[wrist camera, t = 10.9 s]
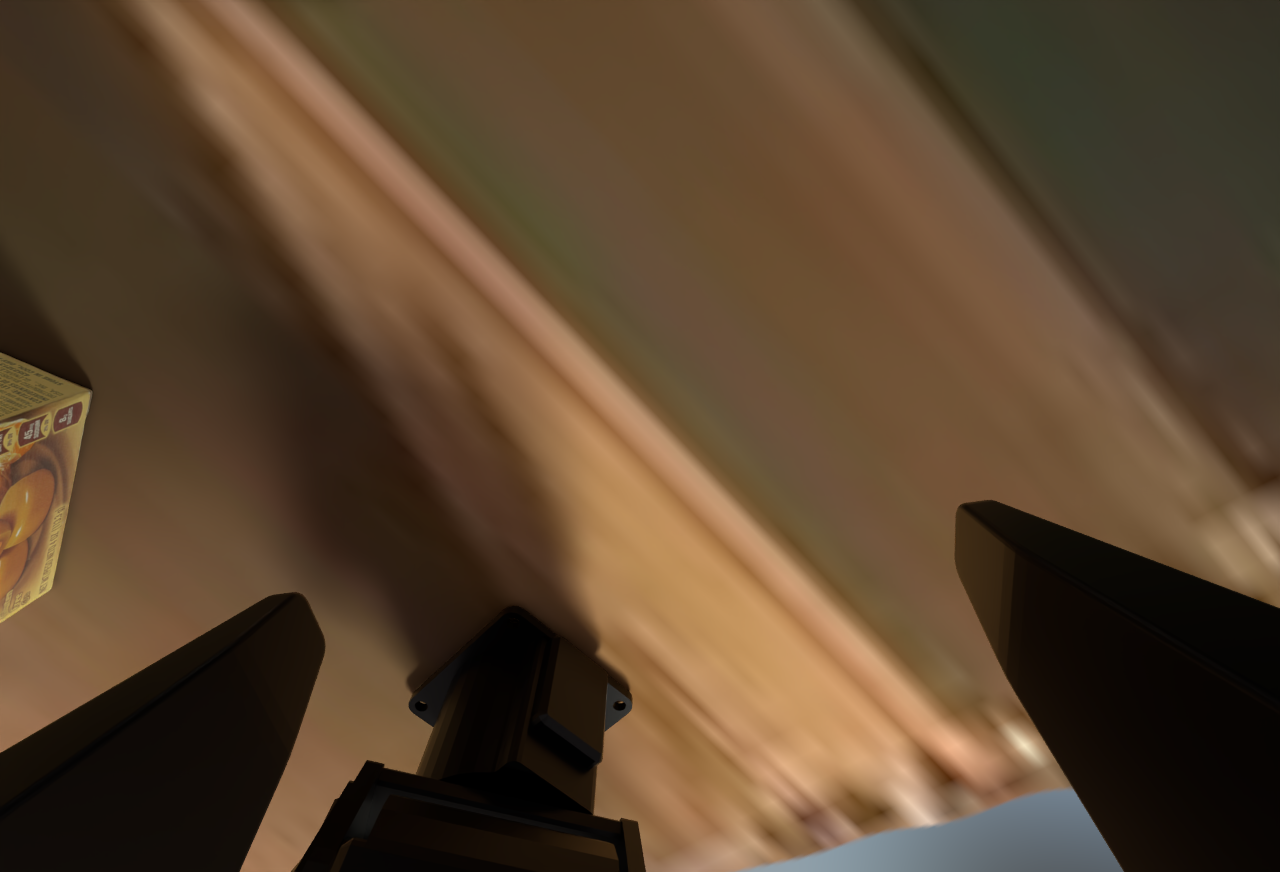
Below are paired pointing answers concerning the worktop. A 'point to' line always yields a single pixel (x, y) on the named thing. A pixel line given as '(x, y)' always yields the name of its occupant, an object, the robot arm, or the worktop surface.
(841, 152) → the worktop surface
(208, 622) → the worktop surface
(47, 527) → the candy box
